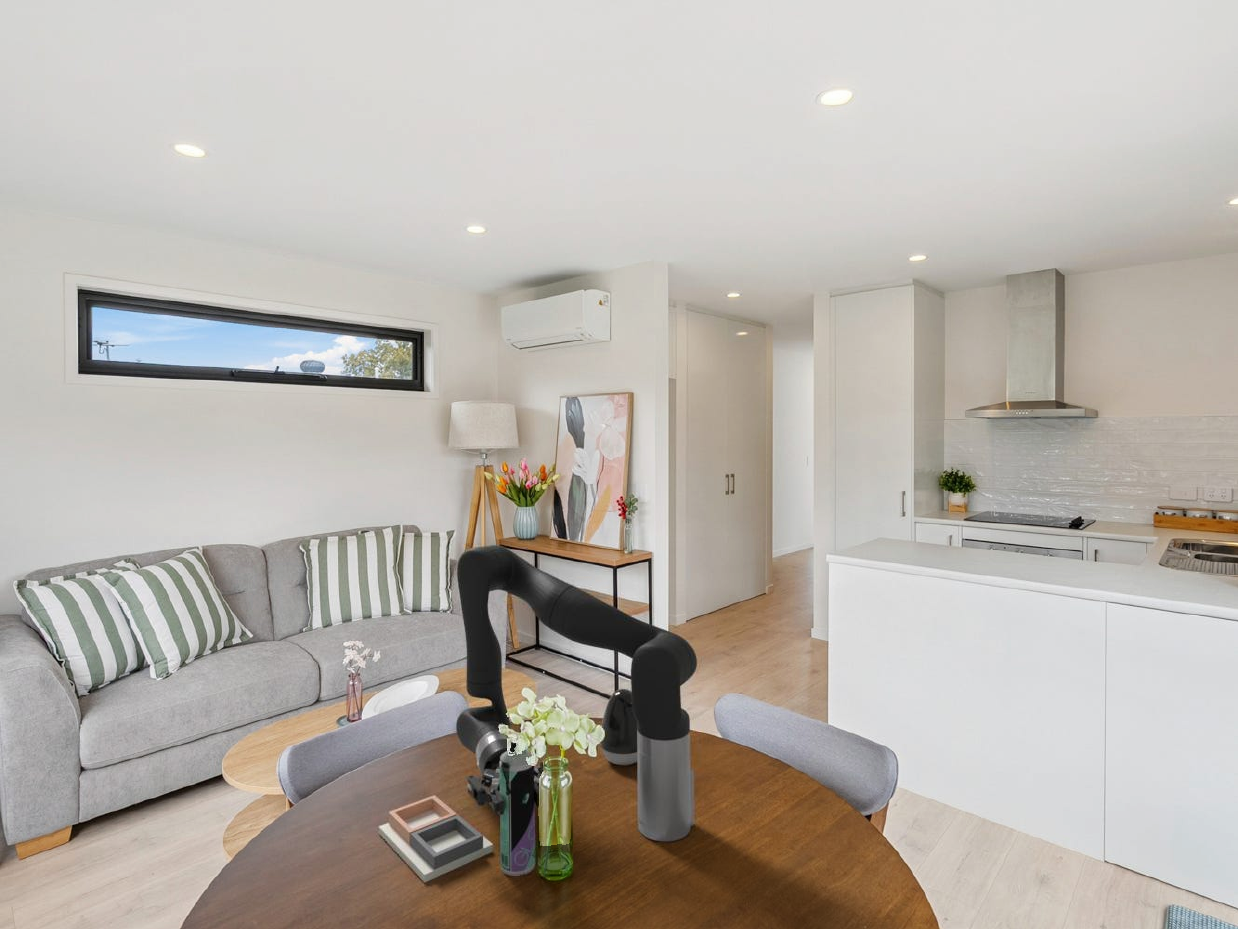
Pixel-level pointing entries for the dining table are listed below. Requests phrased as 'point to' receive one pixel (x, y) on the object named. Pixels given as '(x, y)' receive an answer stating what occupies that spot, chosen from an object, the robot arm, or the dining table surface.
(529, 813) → the spray can
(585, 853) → the dining table surface
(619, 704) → the black egg shaped dome
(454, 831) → the board
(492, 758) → the robot arm
